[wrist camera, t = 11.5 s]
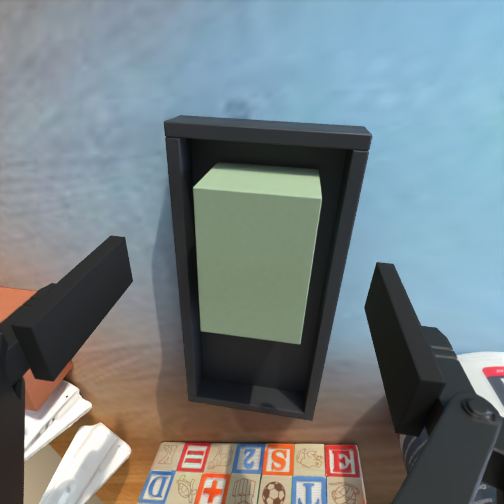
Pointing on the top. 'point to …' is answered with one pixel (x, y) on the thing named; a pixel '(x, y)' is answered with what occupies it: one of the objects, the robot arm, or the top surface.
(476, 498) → the supplement tub
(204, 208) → the pale green rectangular block
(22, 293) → the terracotta rectangular block
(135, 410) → the top surface
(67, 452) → the shaker set
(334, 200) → the backing tray
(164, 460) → the stack of blocks
